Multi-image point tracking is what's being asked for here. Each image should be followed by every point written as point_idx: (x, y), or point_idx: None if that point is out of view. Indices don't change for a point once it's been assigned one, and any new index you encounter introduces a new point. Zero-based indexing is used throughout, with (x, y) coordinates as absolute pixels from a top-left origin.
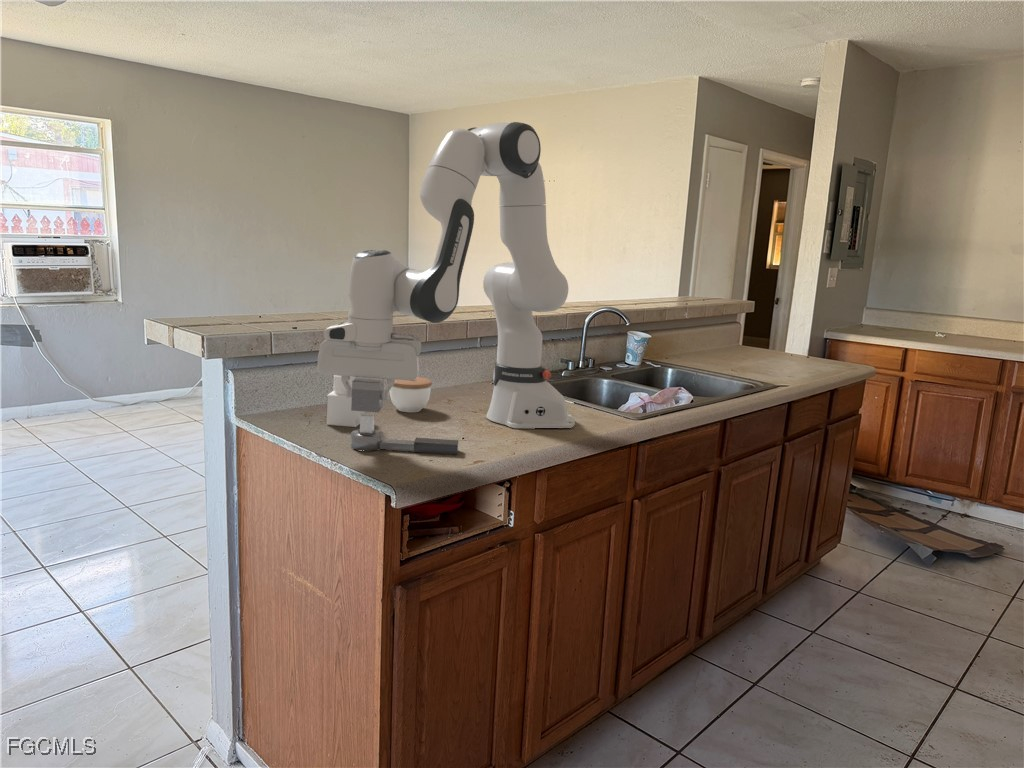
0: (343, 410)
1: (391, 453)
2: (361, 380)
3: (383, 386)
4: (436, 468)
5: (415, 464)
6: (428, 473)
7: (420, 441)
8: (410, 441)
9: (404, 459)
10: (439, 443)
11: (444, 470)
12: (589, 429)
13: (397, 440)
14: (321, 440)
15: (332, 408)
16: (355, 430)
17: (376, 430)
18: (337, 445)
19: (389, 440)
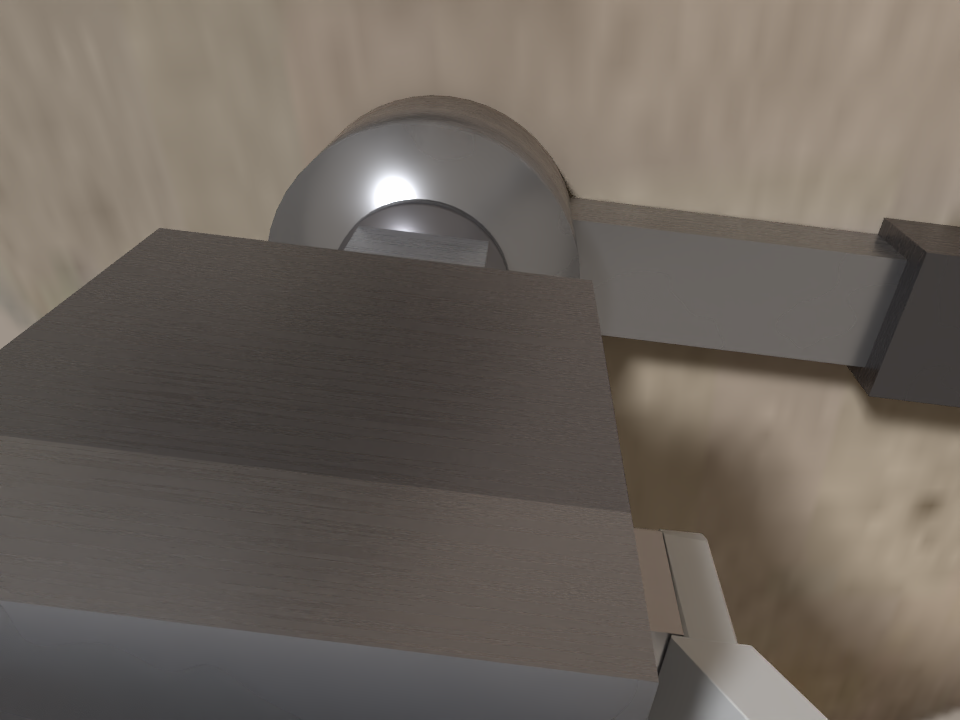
0: None
1: (647, 378)
2: None
3: (622, 511)
4: (915, 633)
5: (792, 576)
6: (839, 697)
7: (937, 372)
8: (849, 285)
9: (731, 494)
10: None
11: (956, 660)
12: None
13: (724, 264)
14: (4, 62)
15: None
16: (293, 202)
17: (514, 176)
18: (190, 205)
19: (646, 269)
